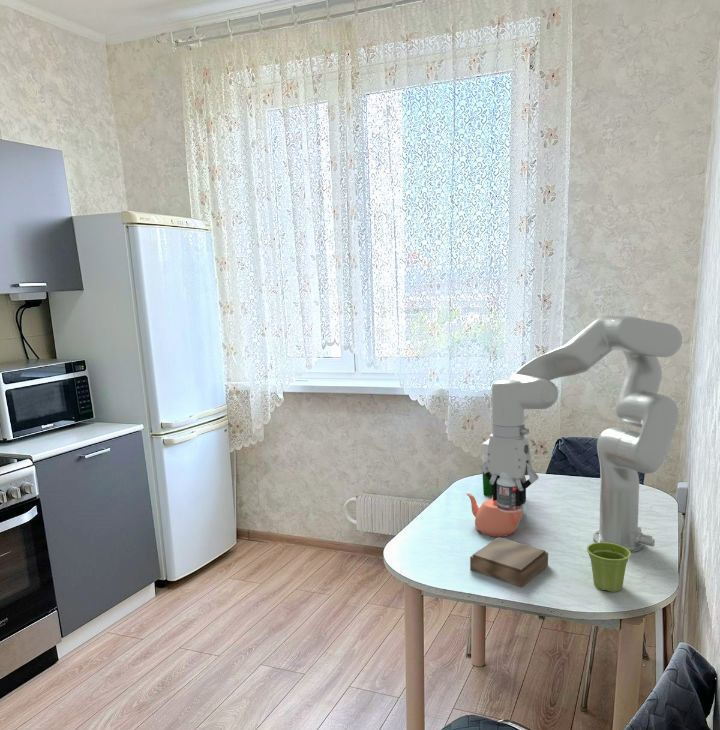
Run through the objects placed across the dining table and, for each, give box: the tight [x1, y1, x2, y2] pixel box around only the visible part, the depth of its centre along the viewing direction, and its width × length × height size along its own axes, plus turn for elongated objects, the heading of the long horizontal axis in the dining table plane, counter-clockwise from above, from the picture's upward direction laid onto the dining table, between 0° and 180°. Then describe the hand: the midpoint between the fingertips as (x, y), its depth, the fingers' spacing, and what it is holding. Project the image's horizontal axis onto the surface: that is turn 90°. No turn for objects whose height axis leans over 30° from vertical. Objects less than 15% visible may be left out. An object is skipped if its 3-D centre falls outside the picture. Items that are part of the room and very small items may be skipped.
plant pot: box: [586, 542, 632, 593], centre depth 136 cm, size 9×9×9 cm
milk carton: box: [481, 438, 492, 497], centre depth 199 cm, size 9×9×20 cm
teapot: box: [465, 493, 524, 538], centre depth 170 cm, size 12×18×10 cm
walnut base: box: [469, 537, 549, 588], centre depth 147 cm, size 14×14×4 cm
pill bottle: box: [497, 472, 521, 513], centre depth 145 cm, size 6×6×10 cm
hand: (508, 501), depth 145 cm, fingers closed on pill bottle, 5 cm apart
